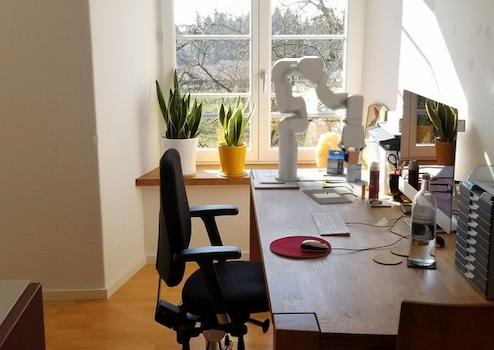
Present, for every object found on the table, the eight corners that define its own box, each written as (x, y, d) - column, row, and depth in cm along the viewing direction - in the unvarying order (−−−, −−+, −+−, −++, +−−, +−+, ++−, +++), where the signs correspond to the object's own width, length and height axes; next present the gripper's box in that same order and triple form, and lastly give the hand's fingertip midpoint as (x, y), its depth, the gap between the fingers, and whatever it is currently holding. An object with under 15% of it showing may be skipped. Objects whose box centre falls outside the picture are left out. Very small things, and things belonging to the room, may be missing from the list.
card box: (343, 161, 268) (344, 149, 267) (351, 161, 269) (352, 149, 267) (349, 165, 261) (350, 152, 260) (357, 164, 262) (358, 152, 261)
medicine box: (354, 182, 286) (355, 165, 285) (346, 181, 289) (346, 164, 287) (361, 179, 293) (362, 163, 291) (353, 178, 295) (354, 162, 293)
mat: (302, 191, 269) (302, 189, 268) (332, 189, 272) (332, 188, 272) (319, 204, 246) (319, 203, 246) (352, 202, 249) (352, 201, 249)
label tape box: (326, 173, 307) (327, 150, 304) (327, 171, 310) (328, 149, 308) (342, 174, 304) (344, 151, 301) (343, 173, 308) (345, 150, 305)
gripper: (339, 123, 255) (336, 163, 259) (374, 123, 259) (371, 162, 263) (333, 120, 262) (330, 160, 266) (367, 120, 266) (364, 159, 270)
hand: (351, 161), depth 265 cm, fingers closed on card box, 4 cm apart
